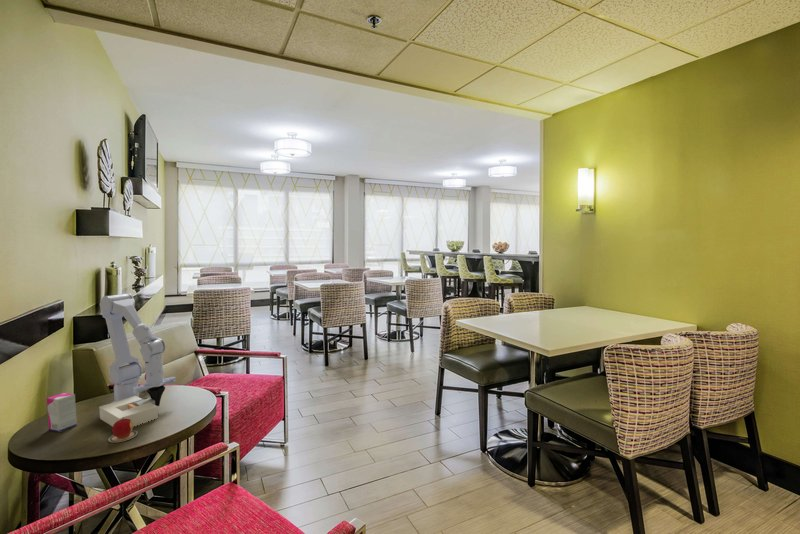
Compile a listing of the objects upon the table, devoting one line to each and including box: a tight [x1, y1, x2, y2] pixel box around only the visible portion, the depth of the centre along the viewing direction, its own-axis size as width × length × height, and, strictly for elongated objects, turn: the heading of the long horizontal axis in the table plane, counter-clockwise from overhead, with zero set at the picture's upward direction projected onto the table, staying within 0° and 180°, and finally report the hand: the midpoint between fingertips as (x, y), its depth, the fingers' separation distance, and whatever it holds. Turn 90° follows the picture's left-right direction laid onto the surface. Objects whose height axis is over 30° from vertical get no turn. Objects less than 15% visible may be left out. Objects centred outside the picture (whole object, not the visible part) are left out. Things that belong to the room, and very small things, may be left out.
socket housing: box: [98, 396, 159, 428], centre depth 147 cm, size 18×12×5 cm, turn 55°
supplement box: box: [46, 392, 78, 433], centre depth 140 cm, size 6×6×12 cm
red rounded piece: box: [107, 417, 138, 443], centre depth 132 cm, size 8×8×6 cm
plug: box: [135, 397, 155, 407], centre depth 151 cm, size 4×6×4 cm
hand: (156, 405), depth 154 cm, fingers closed
